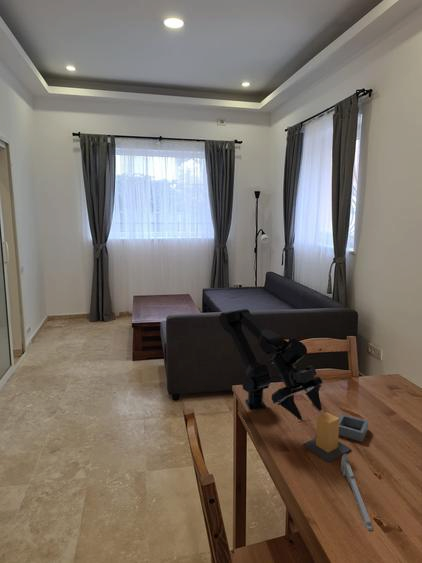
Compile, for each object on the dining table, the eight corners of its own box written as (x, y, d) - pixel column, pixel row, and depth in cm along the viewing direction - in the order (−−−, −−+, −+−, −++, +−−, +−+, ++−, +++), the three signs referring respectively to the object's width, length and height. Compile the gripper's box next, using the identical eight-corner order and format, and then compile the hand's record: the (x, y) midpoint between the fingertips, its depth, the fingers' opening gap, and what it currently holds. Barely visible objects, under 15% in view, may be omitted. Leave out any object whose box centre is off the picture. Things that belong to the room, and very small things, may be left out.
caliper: (340, 471, 105) (341, 450, 104) (344, 471, 105) (345, 450, 104) (367, 531, 85) (369, 506, 84) (372, 531, 85) (374, 506, 84)
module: (316, 445, 115) (317, 416, 114) (325, 440, 118) (327, 412, 116) (327, 452, 112) (329, 423, 110) (337, 447, 114) (339, 418, 113)
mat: (302, 445, 116) (302, 443, 116) (324, 434, 122) (324, 433, 122) (329, 462, 108) (329, 460, 108) (351, 450, 114) (351, 448, 113)
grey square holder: (334, 434, 122) (335, 425, 122) (341, 422, 129) (341, 414, 129) (362, 442, 118) (363, 433, 117) (367, 429, 125) (368, 421, 124)
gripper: (278, 365, 115) (304, 414, 108) (319, 353, 126) (346, 397, 119) (261, 380, 123) (284, 427, 116) (301, 367, 133) (324, 409, 126)
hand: (310, 414), depth 119 cm, fingers open, 9 cm apart
